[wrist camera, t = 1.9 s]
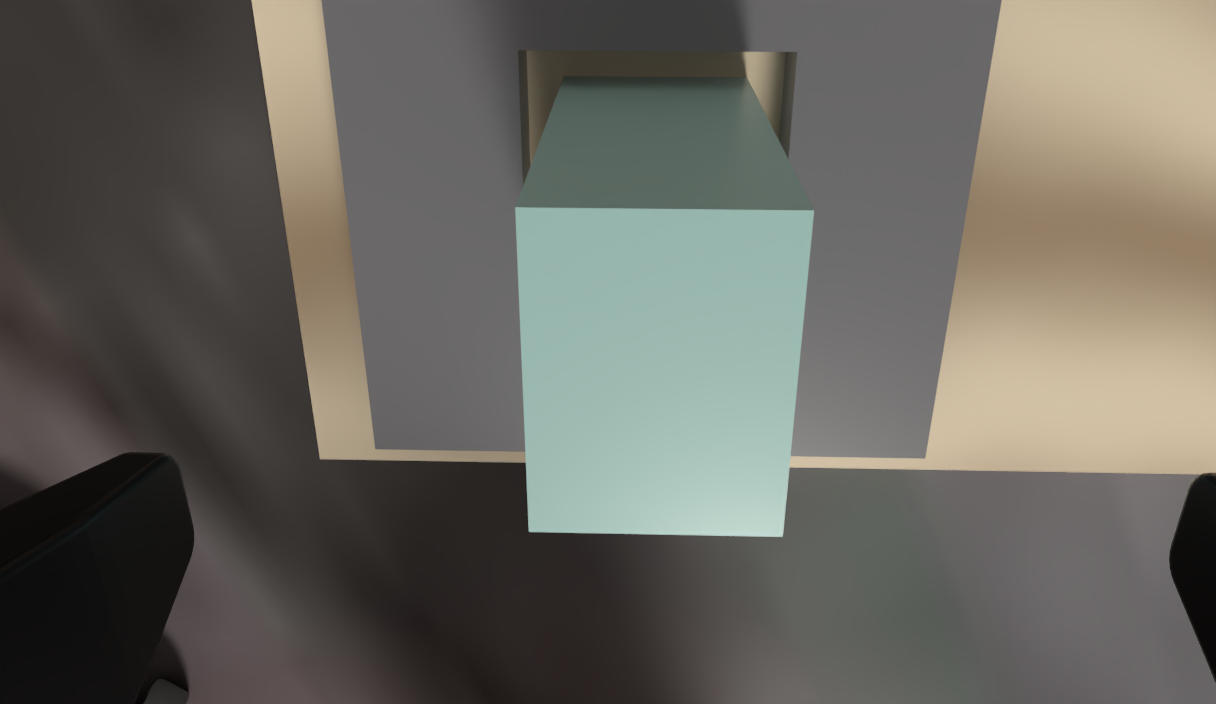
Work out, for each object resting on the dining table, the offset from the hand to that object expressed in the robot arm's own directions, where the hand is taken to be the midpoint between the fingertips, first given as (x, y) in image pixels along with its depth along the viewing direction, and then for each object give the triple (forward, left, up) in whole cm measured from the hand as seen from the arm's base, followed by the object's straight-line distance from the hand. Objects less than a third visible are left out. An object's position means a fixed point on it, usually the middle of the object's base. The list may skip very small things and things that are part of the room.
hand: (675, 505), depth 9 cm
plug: (0, 0, -9) cm, 9 cm away
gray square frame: (0, 0, -10) cm, 10 cm away
